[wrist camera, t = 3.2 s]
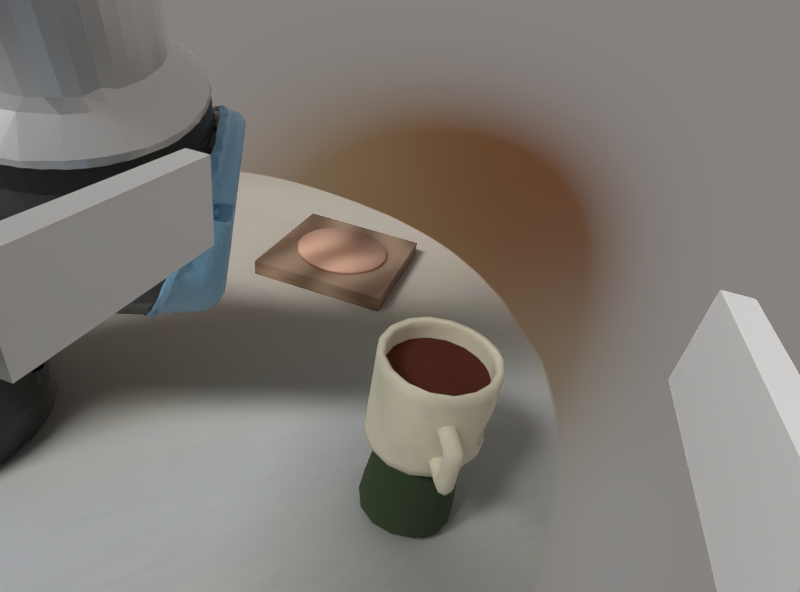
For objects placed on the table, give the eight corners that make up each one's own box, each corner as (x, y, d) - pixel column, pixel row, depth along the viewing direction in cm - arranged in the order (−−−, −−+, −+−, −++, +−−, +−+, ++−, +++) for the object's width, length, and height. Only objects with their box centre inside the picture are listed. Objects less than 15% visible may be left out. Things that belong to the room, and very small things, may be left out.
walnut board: (255, 273, 55) (255, 257, 54) (312, 224, 67) (313, 210, 66) (377, 311, 53) (380, 295, 52) (414, 253, 64) (417, 240, 63)
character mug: (475, 578, 31) (539, 431, 24) (358, 586, 30) (389, 432, 23) (438, 437, 40) (477, 299, 33) (346, 438, 39) (367, 294, 32)
